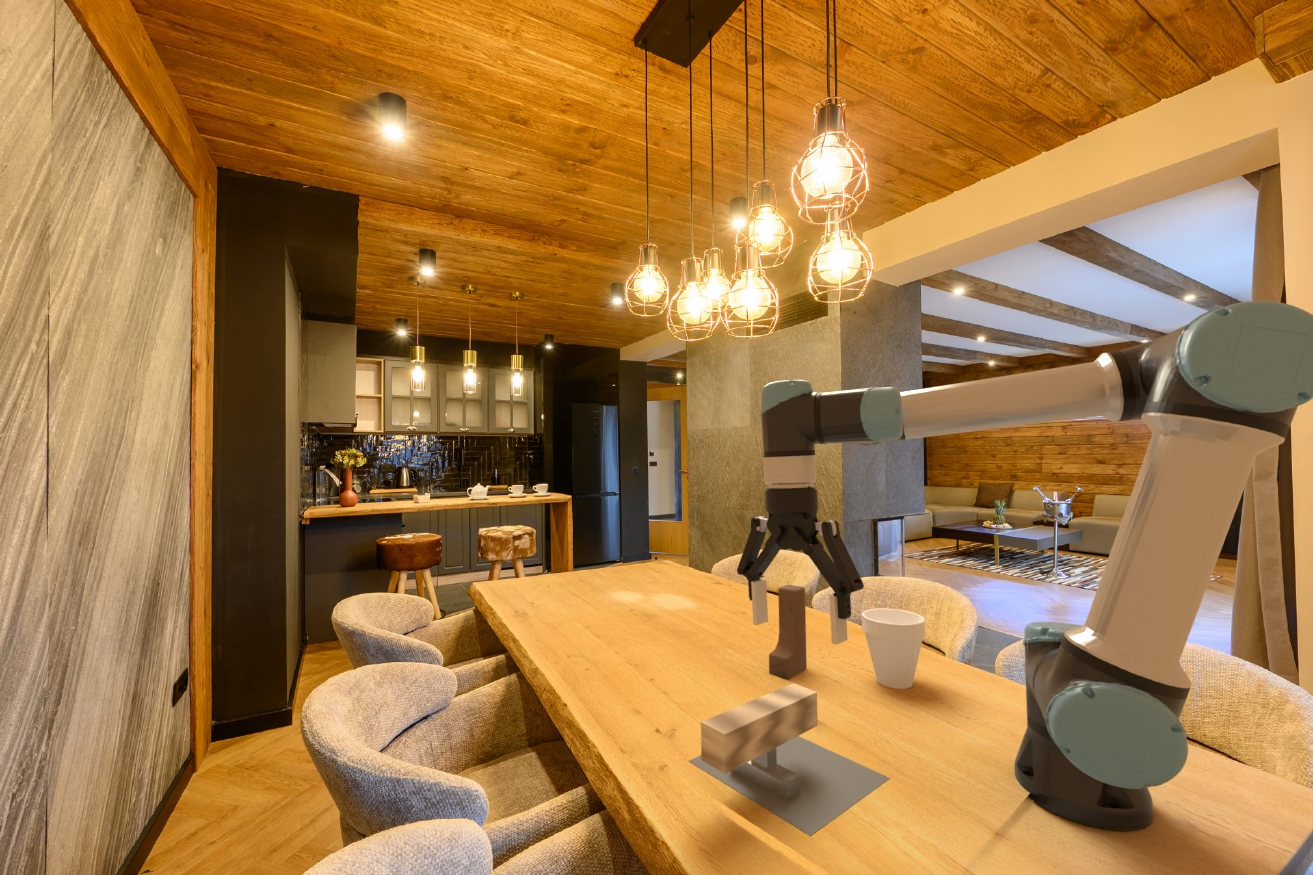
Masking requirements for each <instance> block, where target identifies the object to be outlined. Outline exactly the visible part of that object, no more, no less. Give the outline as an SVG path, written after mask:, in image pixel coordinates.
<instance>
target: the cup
mask: <svg viewBox="0 0 1313 875" xmlns="http://www.w3.org/2000/svg"><path fill="white" fill-rule="evenodd" d="M861 617H862V618H861V620H862V623H861V629H862V630H863V631H864V633H865V638H866V641H867V642H866V643H867V646H868V651H869V654H870V658H871V662H872V665H873V666H872V667H873V670H874V673H875V678H876V682H877V683H879V685H882V686H883V687H887V688H891V689H896V690H905V689H906V690H907V689H910V688H912V687H913V684H914V680H915V679H914V678H915V675H916V670H917V666H918V660H919V657H920V653H921V649H922V644H923V640H924V637H926V635H927V634H926V633H927V632H926V624H925V623H926V619H925V618H924V616H922V615H920V614H918V613H916V612H912V611H909V610H903V609H897V608H885V607H884V608H870V609H866V610H864V611H863V612H862V613H861Z"/></svg>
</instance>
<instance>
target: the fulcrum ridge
mask: <svg viewBox="0 0 1313 875" xmlns="http://www.w3.org/2000/svg"><path fill="white" fill-rule="evenodd" d="M732 772H734V773H736V774H737V775H739V776H741V777H743V778H744V779H746V780H748V781H750V782H751V783H753V784H755V785H756V786H758V787H760V788H762V789H763V790H765V791H767V792H768V793H770V794H772V795H774V796H775V797H777V798H779V799H781V800H782V801H784V802H788V801H790V800H791V799H793V798H794V797H796V796H797V795H799V794H800V777H799V775H798V774H796V773H794V772H792V771H790V770H788V769H786V768H784V767H783V766H781V765H779V764H777V754H776V748H774V749H772V750H770V751H768V752H766V753H765V754H763V755H761V756H759V757H757V758H755V759H753V760H751V761H749V762H747V763H745V764H744V765H742V766H740V767H738V768H736V769H734V770H732Z"/></svg>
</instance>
